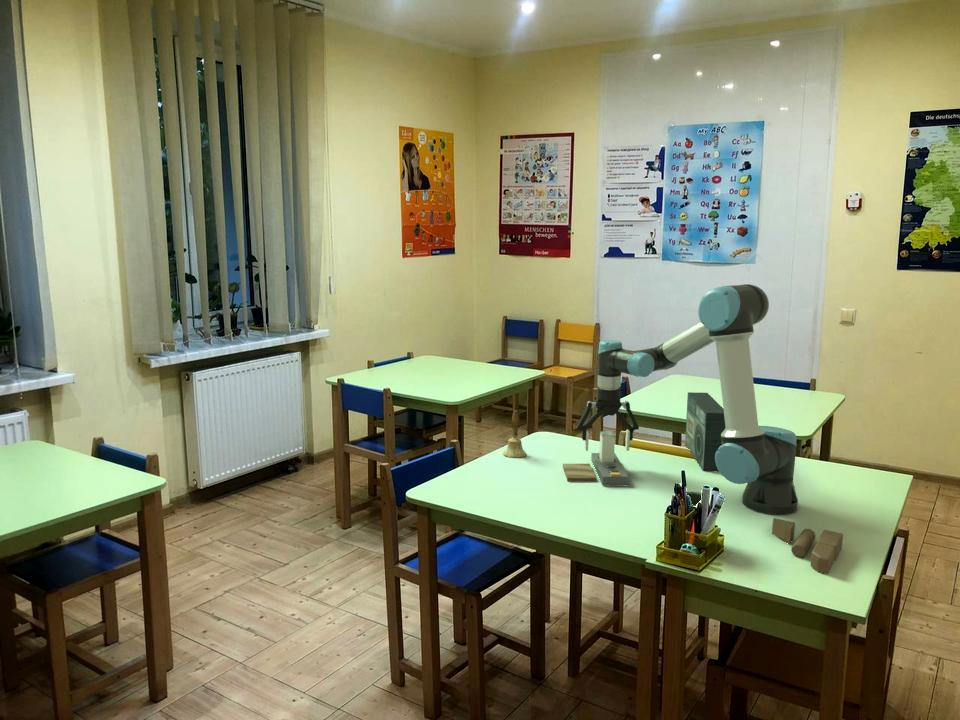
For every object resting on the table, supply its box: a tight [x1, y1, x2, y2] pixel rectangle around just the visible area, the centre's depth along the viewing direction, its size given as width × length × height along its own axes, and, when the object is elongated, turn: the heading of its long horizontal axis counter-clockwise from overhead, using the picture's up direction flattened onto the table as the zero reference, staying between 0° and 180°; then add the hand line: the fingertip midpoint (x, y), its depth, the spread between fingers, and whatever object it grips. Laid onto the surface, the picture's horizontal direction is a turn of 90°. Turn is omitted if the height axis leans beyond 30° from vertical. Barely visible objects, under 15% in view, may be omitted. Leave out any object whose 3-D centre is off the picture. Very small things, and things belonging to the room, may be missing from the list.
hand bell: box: [502, 410, 527, 459], centre depth 263 cm, size 8×8×16 cm
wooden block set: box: [771, 517, 844, 574], centre depth 186 cm, size 17×6×18 cm
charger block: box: [599, 430, 616, 462], centre depth 248 cm, size 5×4×12 cm
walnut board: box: [562, 463, 597, 483], centre depth 244 cm, size 14×9×1 cm, turn 0°
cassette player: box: [684, 391, 726, 473], centre depth 259 cm, size 29×7×20 cm, turn 176°
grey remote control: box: [590, 452, 630, 486], centre depth 244 cm, size 24×8×4 cm, turn 0°
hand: (606, 449), depth 248 cm, fingers open, 13 cm apart
